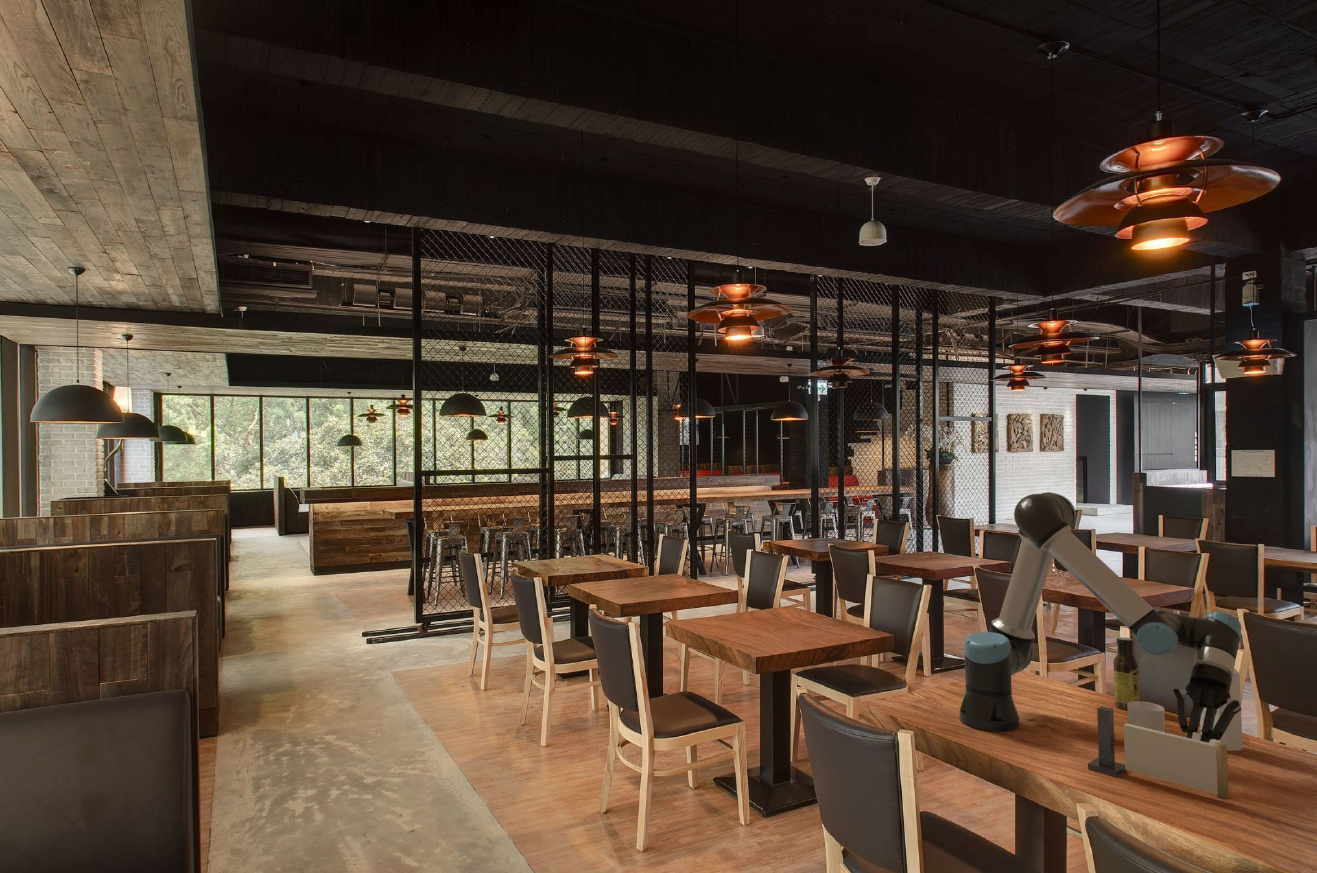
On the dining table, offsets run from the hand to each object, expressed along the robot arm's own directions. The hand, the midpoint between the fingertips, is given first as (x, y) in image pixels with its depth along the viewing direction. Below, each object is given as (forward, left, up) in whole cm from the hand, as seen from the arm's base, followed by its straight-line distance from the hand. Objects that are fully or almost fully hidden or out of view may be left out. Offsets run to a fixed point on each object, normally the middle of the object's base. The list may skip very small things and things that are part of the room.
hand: (1192, 762), depth 163 cm
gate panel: (-2, -5, -4) cm, 7 cm away
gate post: (-16, -5, -5) cm, 17 cm away
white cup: (-15, +18, -5) cm, 24 cm away
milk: (-3, +32, -5) cm, 32 cm away
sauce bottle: (-29, +47, -5) cm, 55 cm away
